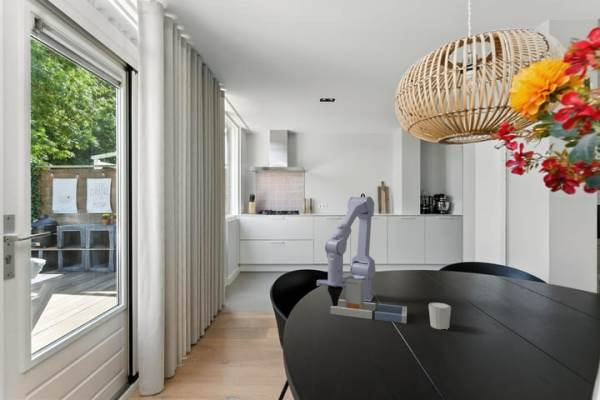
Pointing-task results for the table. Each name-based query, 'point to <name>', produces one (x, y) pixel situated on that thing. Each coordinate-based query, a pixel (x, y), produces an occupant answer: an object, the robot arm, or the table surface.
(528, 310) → the table surface
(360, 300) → the skincare box
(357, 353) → the table surface
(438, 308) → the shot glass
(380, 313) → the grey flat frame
